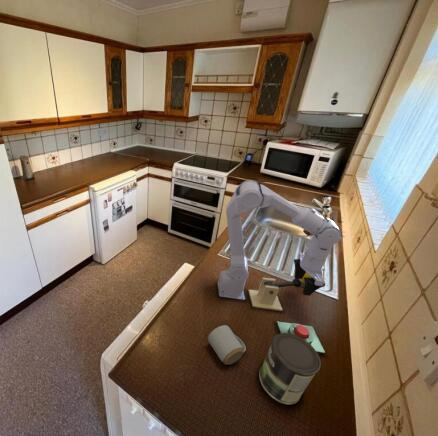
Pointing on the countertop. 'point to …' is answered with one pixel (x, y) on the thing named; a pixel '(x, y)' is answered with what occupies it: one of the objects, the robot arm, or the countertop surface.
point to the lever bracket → (265, 296)
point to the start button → (301, 331)
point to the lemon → (305, 276)
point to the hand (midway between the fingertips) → (301, 286)
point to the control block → (311, 338)
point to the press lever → (286, 283)
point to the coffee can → (288, 368)
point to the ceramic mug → (226, 344)
